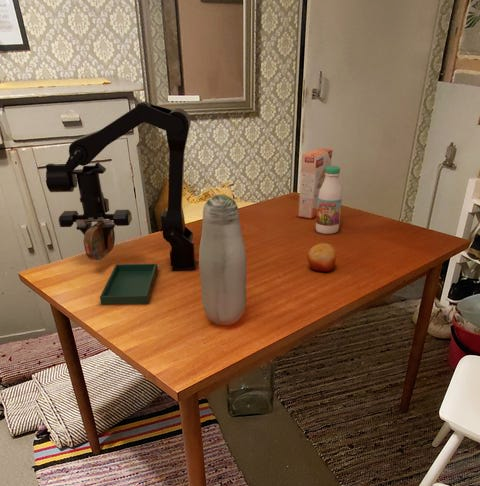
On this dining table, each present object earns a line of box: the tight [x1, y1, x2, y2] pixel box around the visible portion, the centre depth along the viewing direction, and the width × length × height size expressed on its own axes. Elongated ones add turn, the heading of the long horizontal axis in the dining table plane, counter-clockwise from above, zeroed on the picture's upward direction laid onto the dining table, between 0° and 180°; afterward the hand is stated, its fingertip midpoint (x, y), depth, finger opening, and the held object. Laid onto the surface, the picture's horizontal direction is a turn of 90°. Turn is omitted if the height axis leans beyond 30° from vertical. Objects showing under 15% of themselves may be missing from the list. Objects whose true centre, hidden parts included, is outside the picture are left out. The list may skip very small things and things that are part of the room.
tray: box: [99, 263, 159, 306], centre depth 131 cm, size 12×21×2 cm, turn 1°
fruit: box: [306, 242, 337, 272], centre depth 138 cm, size 8×8×8 cm
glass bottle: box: [198, 194, 247, 326], centre depth 107 cm, size 10×10×28 cm
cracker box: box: [297, 147, 333, 220], centre depth 176 cm, size 14×6×21 cm, turn 149°
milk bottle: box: [315, 165, 343, 235], centre depth 160 cm, size 8×8×20 cm
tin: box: [83, 222, 116, 261], centre depth 137 cm, size 15×3×8 cm, turn 169°
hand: (101, 249), depth 139 cm, fingers closed on tin, 3 cm apart
